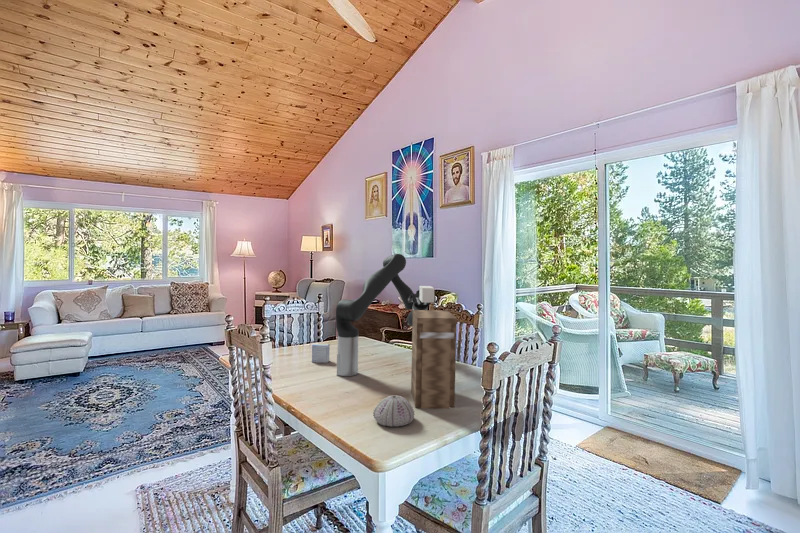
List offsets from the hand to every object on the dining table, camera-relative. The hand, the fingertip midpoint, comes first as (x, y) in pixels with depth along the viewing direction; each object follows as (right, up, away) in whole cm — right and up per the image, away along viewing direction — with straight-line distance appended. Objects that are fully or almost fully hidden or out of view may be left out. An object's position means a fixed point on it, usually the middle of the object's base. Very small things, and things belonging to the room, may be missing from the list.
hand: (424, 291), depth 180 cm
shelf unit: (+1, -38, -32) cm, 50 cm away
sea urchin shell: (-13, -39, -52) cm, 66 cm away
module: (0, -3, -6) cm, 6 cm away
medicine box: (-51, -36, +17) cm, 64 cm away
